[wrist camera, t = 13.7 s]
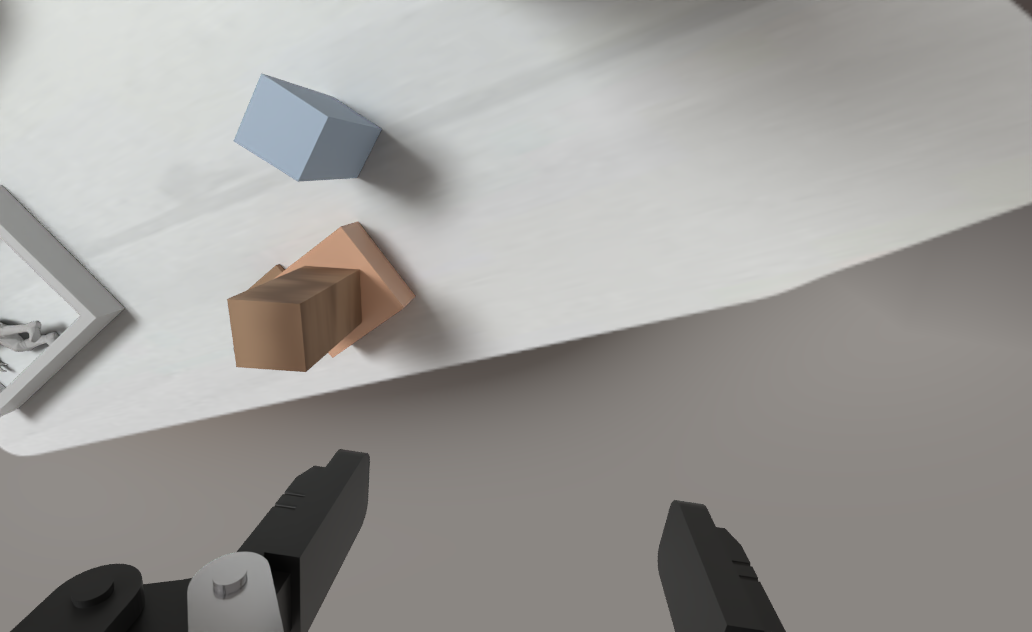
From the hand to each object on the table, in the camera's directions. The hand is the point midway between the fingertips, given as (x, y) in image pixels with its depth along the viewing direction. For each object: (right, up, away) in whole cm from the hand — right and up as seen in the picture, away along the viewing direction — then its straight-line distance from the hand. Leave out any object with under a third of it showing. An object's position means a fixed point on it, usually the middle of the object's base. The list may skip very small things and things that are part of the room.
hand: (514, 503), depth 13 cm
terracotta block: (-15, +8, +30) cm, 35 cm away
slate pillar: (-14, +19, +26) cm, 36 cm away
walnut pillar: (-15, +7, +27) cm, 31 cm away
